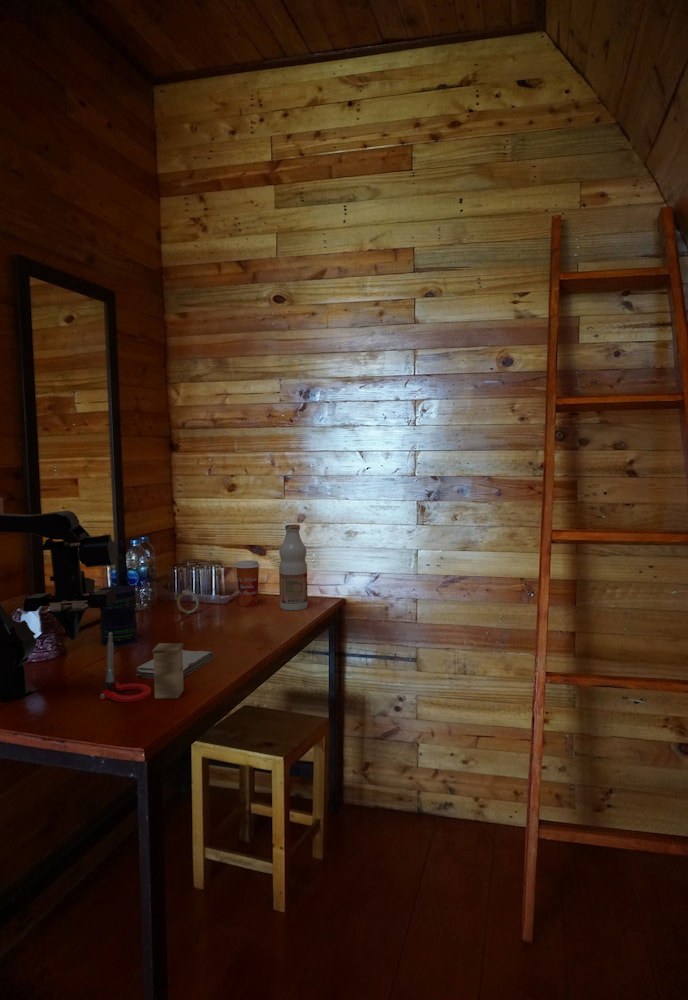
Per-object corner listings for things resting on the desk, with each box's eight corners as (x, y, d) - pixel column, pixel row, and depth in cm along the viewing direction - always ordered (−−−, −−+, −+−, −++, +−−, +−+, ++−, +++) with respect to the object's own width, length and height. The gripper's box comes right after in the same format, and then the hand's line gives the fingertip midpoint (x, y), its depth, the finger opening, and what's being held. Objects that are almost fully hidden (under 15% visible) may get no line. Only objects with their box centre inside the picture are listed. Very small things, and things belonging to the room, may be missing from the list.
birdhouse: (153, 698, 147) (152, 650, 146) (164, 684, 156) (163, 638, 155) (178, 698, 147) (177, 650, 146) (188, 684, 156) (187, 638, 155)
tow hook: (157, 690, 153) (115, 686, 154) (158, 629, 152) (115, 626, 153) (141, 705, 144) (96, 701, 145) (142, 641, 143) (96, 638, 144)
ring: (176, 614, 222) (175, 590, 221) (179, 612, 225) (179, 588, 224) (196, 614, 221) (196, 590, 220) (200, 612, 224) (199, 588, 224)
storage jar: (94, 646, 186) (92, 581, 185) (108, 636, 196) (106, 574, 194) (130, 646, 186) (128, 581, 184) (142, 636, 195) (140, 574, 194)
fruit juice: (274, 607, 230) (272, 525, 228) (295, 603, 236) (294, 523, 234) (291, 612, 223) (290, 527, 221) (313, 607, 230) (312, 525, 228)
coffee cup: (234, 607, 230) (233, 563, 229) (238, 602, 239) (238, 559, 238) (258, 607, 230) (258, 563, 229) (262, 602, 238) (261, 559, 237)
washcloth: (133, 679, 161) (132, 666, 161) (173, 656, 178) (172, 645, 178) (177, 683, 157) (177, 670, 157) (214, 660, 175) (214, 648, 174)
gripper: (122, 560, 155) (129, 627, 157) (44, 564, 157) (51, 631, 158) (101, 569, 144) (109, 641, 145) (17, 574, 146) (25, 645, 147)
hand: (73, 639), depth 149 cm, fingers closed
